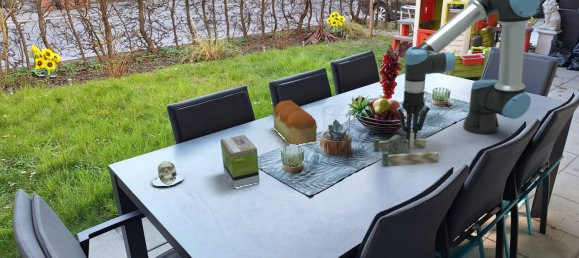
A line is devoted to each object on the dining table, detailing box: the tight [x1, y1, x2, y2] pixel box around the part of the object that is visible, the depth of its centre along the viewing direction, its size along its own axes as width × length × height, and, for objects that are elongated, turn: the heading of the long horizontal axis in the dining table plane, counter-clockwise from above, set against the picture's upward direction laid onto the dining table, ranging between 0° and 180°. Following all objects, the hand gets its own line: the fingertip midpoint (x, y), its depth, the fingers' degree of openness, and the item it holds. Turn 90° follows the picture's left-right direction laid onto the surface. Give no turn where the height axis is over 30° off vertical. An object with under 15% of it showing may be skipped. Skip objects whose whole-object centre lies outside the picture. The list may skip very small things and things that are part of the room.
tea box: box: [220, 134, 261, 188], centre depth 157 cm, size 15×10×15 cm, turn 23°
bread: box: [272, 99, 318, 145], centre depth 196 cm, size 25×12×15 cm, turn 20°
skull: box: [157, 160, 177, 185], centre depth 160 cm, size 12×10×10 cm
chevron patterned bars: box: [372, 138, 440, 167], centre depth 172 cm, size 22×16×5 cm
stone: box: [383, 134, 411, 155], centre depth 172 cm, size 10×10×10 cm
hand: (410, 146), depth 171 cm, fingers closed
